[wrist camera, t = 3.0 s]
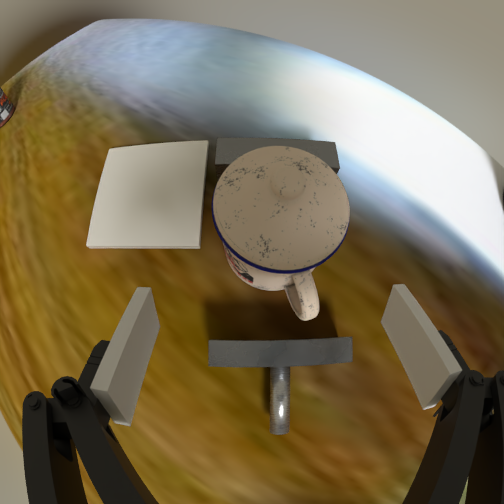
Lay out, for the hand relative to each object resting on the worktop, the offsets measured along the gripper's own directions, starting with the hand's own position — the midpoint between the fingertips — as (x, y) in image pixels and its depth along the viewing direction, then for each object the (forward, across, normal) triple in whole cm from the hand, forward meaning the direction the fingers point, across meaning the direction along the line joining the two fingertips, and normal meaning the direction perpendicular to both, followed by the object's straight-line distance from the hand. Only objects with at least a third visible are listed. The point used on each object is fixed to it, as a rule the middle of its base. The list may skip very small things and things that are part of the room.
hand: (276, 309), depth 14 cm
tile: (+16, -12, +2) cm, 20 cm away
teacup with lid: (+11, +1, -3) cm, 12 cm away
